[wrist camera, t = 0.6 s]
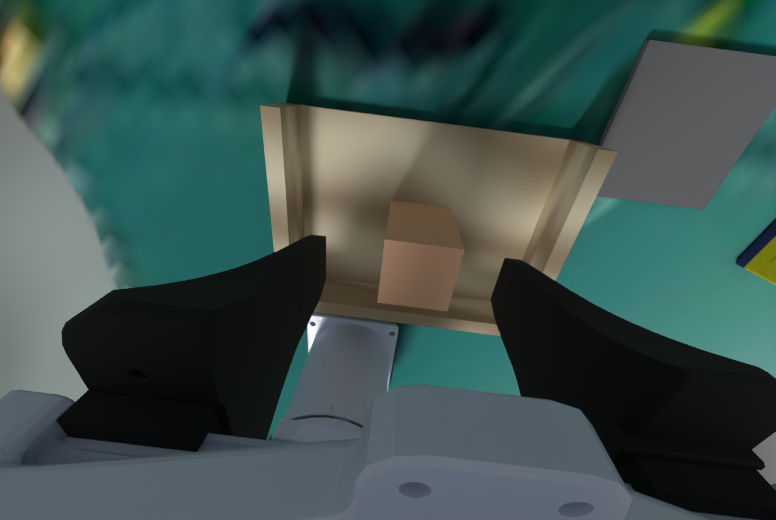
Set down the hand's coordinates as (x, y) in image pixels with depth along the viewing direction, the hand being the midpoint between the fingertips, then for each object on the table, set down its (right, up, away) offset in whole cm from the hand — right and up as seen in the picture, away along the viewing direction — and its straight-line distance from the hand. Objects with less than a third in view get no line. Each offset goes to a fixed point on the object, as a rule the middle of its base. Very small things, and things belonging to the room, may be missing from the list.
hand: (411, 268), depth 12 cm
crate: (+1, +4, +9) cm, 10 cm away
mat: (+16, +8, +5) cm, 18 cm away
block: (+1, +2, +9) cm, 9 cm away
